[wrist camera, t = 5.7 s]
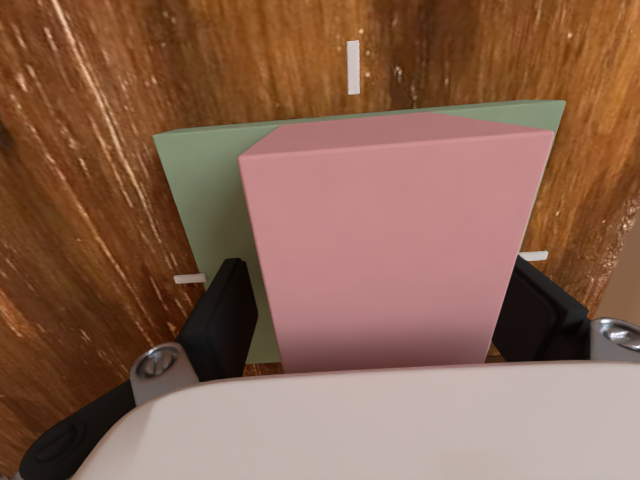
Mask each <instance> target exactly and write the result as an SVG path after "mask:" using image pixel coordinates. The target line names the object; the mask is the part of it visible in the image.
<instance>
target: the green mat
mask: <svg viewBox="0 0 640 480" xmlns="http://www.w3.org/2000/svg"><path fill="white" fill-rule="evenodd" d="M347 82H348V95H354V94H359V40H356V41H347ZM565 103H566V101H565V100H515V101H503V102H491V103H480V104H468V105H456V106H444V107H432V108H421V109H409V110H397V111H385V112H373V113H362V114H350V115H338V116H326V117H314V118H303V119H291V120H279V121H267V122H255V123H244V124H232V125H220V126H208V127H196V128H185V129H176V130H172V131H168V132H163V133H159V134H155V135H153V136H152V138H153V140H154V143H155V146H156V149H157V152H158V155H159V158H160V161H161V163H162V166H163V169H164V172H165V175H166V178H167V181H168V184H169V186H170V189H171V192H172V195H173V198H174V201H175V204H176V207H177V210H178V212H179V215H180V218H181V221H182V224H183V227H184V230H185V233H186V235H187V238H188V241H189V244H190V247H191V250H192V253H193V256H194V258H195V261H196V264H197V267H198V270H199V273H200V274H189V275H175V276H174V280H175V282H176V284H179V283H195V282H203V284H204V287H205V290H206V291H207V289H208V287H209V286H210V284H211V282H212V280H213V279H214V277H215V275H216V274H217V272H218V270H219V268H220V267H221V265H222V263H223V262H224V260H225V259H227V258H241V260H242V261H246V264H247V268H248V272H249V276H250V280H251V284H252V288H253V292H254V296H255V301H256V305H257V309H258V320H257V324H256V327H255V331H254V335H253V338H252V342H251V345H250V349H249V353H248V356H247V360H246V363H245V364H257V363H275V362H281V360H280V355H279V350H278V346H277V341H276V337H275V332H274V328H273V323H272V318H271V314H270V309H269V305H268V300H267V296H266V291H265V287H264V282H263V277H262V273H261V268H260V264H259V259H258V255H257V250H256V245H255V241H254V236H253V232H252V227H251V223H250V218H249V213H248V209H247V204H246V200H245V195H244V191H243V186H242V181H241V177H240V172H239V168H238V163H237V158H238V156H240V155H241V154H242V153H244V152H245V151H246V150H248V149H249V148H251V147H252V146H253V145H255V144H256V143H257V142H259V141H260V140H261V139H263V138H264V137H265V136H267V135H268V134H269V133H271V132H272V131H273V130H275V129H276V128H277V127H279V126H280V125H283V124H294V123H306V122H318V121H329V120H341V119H352V118H364V117H376V116H387V115H399V114H410V113H422V112H431V113H438V114H444V115H451V116H458V117H465V118H472V119H479V120H486V121H493V122H500V123H506V124H513V125H520V126H527V127H534V128H541V129H548V130H551V131H553V132H554V138H555V135H556V132H557V129H558V126H559V122H560V119H561V116H562V113H563V110H564V106H565ZM554 138H553V141H552V145H553V142H554ZM552 145H551V148H552ZM551 148H550V151H551ZM550 151H549V154H550ZM549 154H548V158H549ZM548 158H547V161H548ZM547 161H546V164H547ZM546 164H545V167H546ZM545 167H544V171H545ZM544 171H543V174H544ZM543 174H542V177H543ZM542 177H541V180H542ZM541 180H540V183H541ZM539 187H540V184H539ZM539 187H538V190H539ZM538 190H537V193H538ZM537 193H536V196H537ZM536 196H535V199H536ZM534 203H535V200H534ZM534 203H533V206H534ZM533 206H532V209H533ZM532 209H531V212H532ZM530 215H531V213H530ZM529 219H530V216H529ZM529 219H528V222H529ZM528 222H527V225H528ZM526 228H527V226H526ZM525 231H526V229H525ZM524 235H525V232H524ZM524 235H523V238H524ZM522 241H523V239H522ZM521 244H522V242H521ZM520 247H521V245H520ZM519 251H520V248H519ZM518 254H519V255H520V256H521V257H522V258H524V259H525V260H526V261H534V260H546V258H547V256H548V252H547V251H538V252H523V253H519V252H518ZM490 344H491V342H490ZM489 347H490V346H489ZM488 350H489V349H488Z"/></svg>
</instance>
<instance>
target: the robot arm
mask: <svg viewBox="0 0 640 480" xmlns="http://www.w3.org/2000/svg"><path fill="white" fill-rule="evenodd" d="M588 312H589V310H588V309H587V308H586V307H584V306H583V305H582V304H580V303H579V302H578V301H577V300H575V299H574V298H573V297H572V296H570V295H569V294H568V293H567V292H565V291H564V290H563V289H562V288H560V287H559V286H558V285H556V284H555V283H554V282H553V281H551V280H550V279H549V278H548V277H546V276H545V275H544V274H543V273H541V272H540V271H539V270H538V269H536V268H535V267H534V266H533V265H531V264H530V263H529V262H527V261H526V260H525V259H524V258H522V257H521V256H520V255H519V254H518V255H517V258H516V261H515V265H514V268H513V271H512V274H511V278H510V281H509V284H508V287H507V290H506V294H505V297H504V300H503V303H502V307H501V310H500V313H499V316H498V320H497V323H496V326H495V329H494V333H493V336H492V339H491V341H492V342H493V344H494V345H495V347H496V348H497V349H498V351H499V352H500V354H501V355H502V357H503V358H504V359H505V361H506V362H507V363H485V364H463V365H442V366H422V367H402V368H383V369H364V370H346V371H328V372H311V373H293V374H277V375H263V376H250V377H242V374H243V370H244V367H245V363H246V360H247V356H248V353H249V349H250V345H251V342H252V338H253V335H254V331H255V327H256V324H257V320H258V309H257V305H256V301H255V296H254V292H253V288H252V284H251V280H250V276H249V272H248V268H247V264H246V261H242V260H241V258H227V259H225V260H224V262H223V263H222V265H221V267H220V268H219V270H218V272H217V274H216V275H215V277H214V279H213V280H212V282H211V284H210V286H209V287H208V289H207V291H206V292H204V293H203V294H202V296H201V297H200V299H199V301H198V302H197V304H196V306H195V308H194V309H193V311H192V313H191V314H190V316H189V318H188V319H187V321H186V323H185V324H184V326H183V328H182V329H181V331H180V333H179V334H178V336H177V338H176V340H175V341H174V342H164V343H160V344H157V345H155V346H153V347H151V348H149V349H148V350H146V351H145V352H143V353H142V354H141V355H140V356H139V357H138V358H137V359H136V360H135V362H134V363H133V364H132V367H131V369H130V379H129V380H127V381H126V382H124V383H123V384H121V385H119V386H118V387H116V388H114V389H113V390H111V391H109V392H108V393H106V394H105V395H103V396H101V397H100V398H98V399H96V400H95V401H93V402H91V403H90V404H88V405H87V406H85V407H83V408H82V409H80V410H78V411H77V412H75V413H73V414H72V415H70V416H69V417H67V418H65V419H64V420H62V421H60V422H59V423H57V424H56V425H54V426H53V427H51V428H50V429H48V430H47V431H46V432H44V433H43V434H42V435H41V436H40V437H39V438H38V439H37V440H36V441H35V442H34V443H33V444H32V445H31V447H30V448H29V449H28V450H27V452H26V453H25V455H24V457H23V459H22V460H21V463H20V467H19V470H18V471H17V472H16V473H14V474H13V475H12V476H11V477H10V478H9V477H8V476H6V475H4V476H2V477H1V478H0V480H640V327H639V326H637V325H635V324H632V323H629V322H627V321H624V320H620V319H616V318H609V317H600V318H596V319H594V320H592V321H591V320H590V319H588V318H587V317H586V316H587V314H588Z"/></svg>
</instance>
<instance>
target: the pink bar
mask: <svg viewBox="0 0 640 480" xmlns="http://www.w3.org/2000/svg"><path fill="white" fill-rule="evenodd" d="M553 138H554V132H553V131H551V130H548V129H541V128H534V127H527V126H520V125H513V124H506V123H500V122H493V121H486V120H479V119H472V118H465V117H458V116H451V115H444V114H438V113H431V112H422V113H410V114H399V115H387V116H376V117H364V118H352V119H341V120H329V121H318V122H306V123H294V124H283V125H280V126H279V127H277V128H276V129H275V130H273V131H272V132H271V133H269V134H268V135H267V136H265V137H264V138H263V139H261V140H260V141H259V142H257V143H256V144H255V145H253V146H252V147H251V148H249V149H248V150H246V151H245V152H244V153H242V154H241V155H240V156H238V158H237V163H238V168H239V172H240V177H241V181H242V186H243V191H244V195H245V200H246V204H247V209H248V213H249V218H250V223H251V227H252V232H253V236H254V241H255V245H256V250H257V255H258V259H259V264H260V268H261V273H262V277H263V282H264V287H265V291H266V296H267V300H268V305H269V309H270V314H271V318H272V323H273V328H274V332H275V337H276V341H277V346H278V350H279V355H280V360H281V364H282V369H283V373H284V374H293V373H311V372H328V371H346V370H364V369H383V368H402V367H422V366H442V365H463V364H484V362H485V359H486V355H487V352H488V349H489V346H490V342H491V339H492V336H493V333H494V329H495V326H496V323H497V320H498V316H499V313H500V310H501V307H502V303H503V300H504V297H505V294H506V290H507V287H508V284H509V281H510V278H511V274H512V271H513V268H514V265H515V261H516V258H517V255H518V252H519V248H520V245H521V242H522V239H523V235H524V232H525V229H526V226H527V222H528V219H529V216H530V213H531V209H532V206H533V203H534V200H535V196H536V193H537V190H538V187H539V184H540V180H541V177H542V174H543V171H544V167H545V164H546V161H547V158H548V154H549V151H550V148H551V145H552V141H553Z"/></svg>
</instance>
